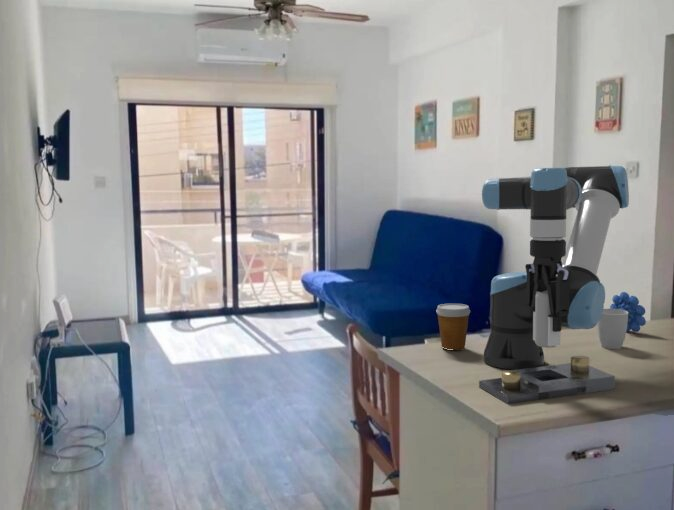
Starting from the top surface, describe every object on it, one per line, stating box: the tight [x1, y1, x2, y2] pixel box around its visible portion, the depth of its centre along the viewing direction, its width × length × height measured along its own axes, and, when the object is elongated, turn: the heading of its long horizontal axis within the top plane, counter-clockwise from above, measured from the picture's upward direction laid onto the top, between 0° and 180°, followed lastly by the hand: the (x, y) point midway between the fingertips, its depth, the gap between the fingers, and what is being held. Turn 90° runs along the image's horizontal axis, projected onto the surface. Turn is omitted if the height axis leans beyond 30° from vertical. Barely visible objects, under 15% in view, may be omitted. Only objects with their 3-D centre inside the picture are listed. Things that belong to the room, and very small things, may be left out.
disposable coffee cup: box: [435, 303, 471, 351], centre depth 181 cm, size 10×10×12 cm
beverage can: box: [535, 291, 556, 349], centre depth 143 cm, size 5×5×12 cm
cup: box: [596, 308, 628, 350], centre depth 179 cm, size 8×8×10 cm
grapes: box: [609, 291, 647, 333], centre depth 196 cm, size 12×7×12 cm, turn 33°
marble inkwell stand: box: [478, 355, 616, 405], centre depth 145 cm, size 12×27×6 cm, turn 107°
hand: (546, 342), depth 144 cm, fingers closed on beverage can, 5 cm apart
